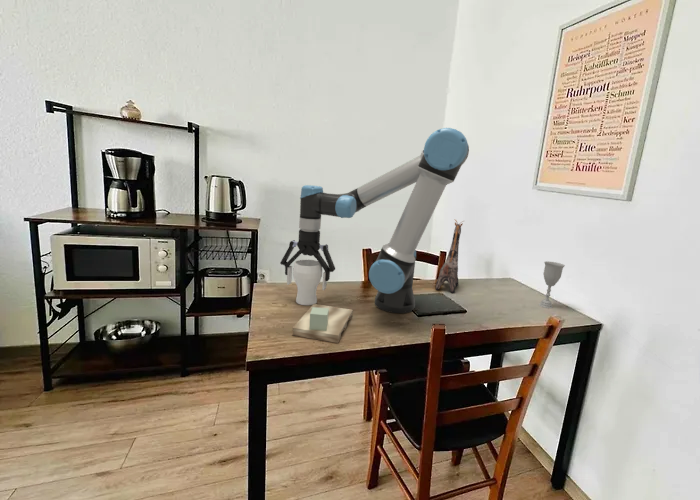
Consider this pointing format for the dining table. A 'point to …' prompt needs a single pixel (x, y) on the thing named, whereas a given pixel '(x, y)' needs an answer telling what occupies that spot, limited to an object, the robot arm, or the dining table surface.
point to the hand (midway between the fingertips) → (306, 286)
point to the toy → (451, 263)
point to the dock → (334, 328)
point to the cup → (307, 280)
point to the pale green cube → (319, 319)
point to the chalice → (551, 279)
